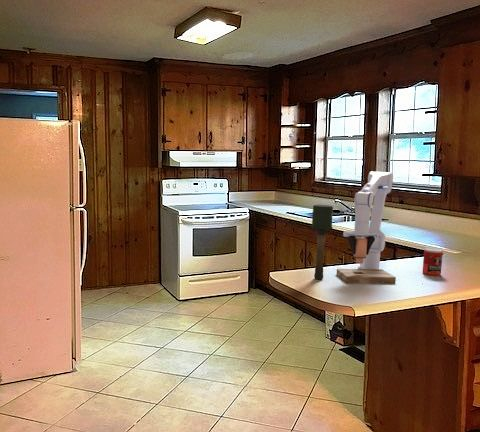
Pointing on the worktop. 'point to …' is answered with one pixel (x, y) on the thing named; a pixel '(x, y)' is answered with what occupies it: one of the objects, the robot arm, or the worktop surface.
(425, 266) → the canned food
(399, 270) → the worktop surface
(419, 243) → the worktop surface
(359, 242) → the peg
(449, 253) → the worktop surface
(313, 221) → the potato masher grenade
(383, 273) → the board
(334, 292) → the worktop surface
